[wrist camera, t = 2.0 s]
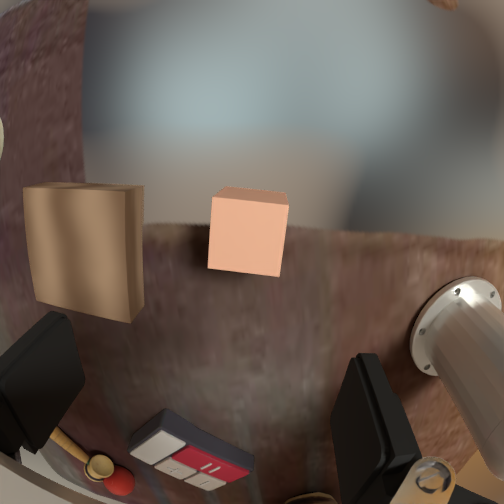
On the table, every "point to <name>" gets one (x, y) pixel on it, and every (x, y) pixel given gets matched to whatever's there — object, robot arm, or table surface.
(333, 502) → the ceramic jug
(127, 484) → the kendama
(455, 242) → the table surface
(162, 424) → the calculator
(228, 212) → the block
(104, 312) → the base
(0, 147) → the reusable coffee cup
